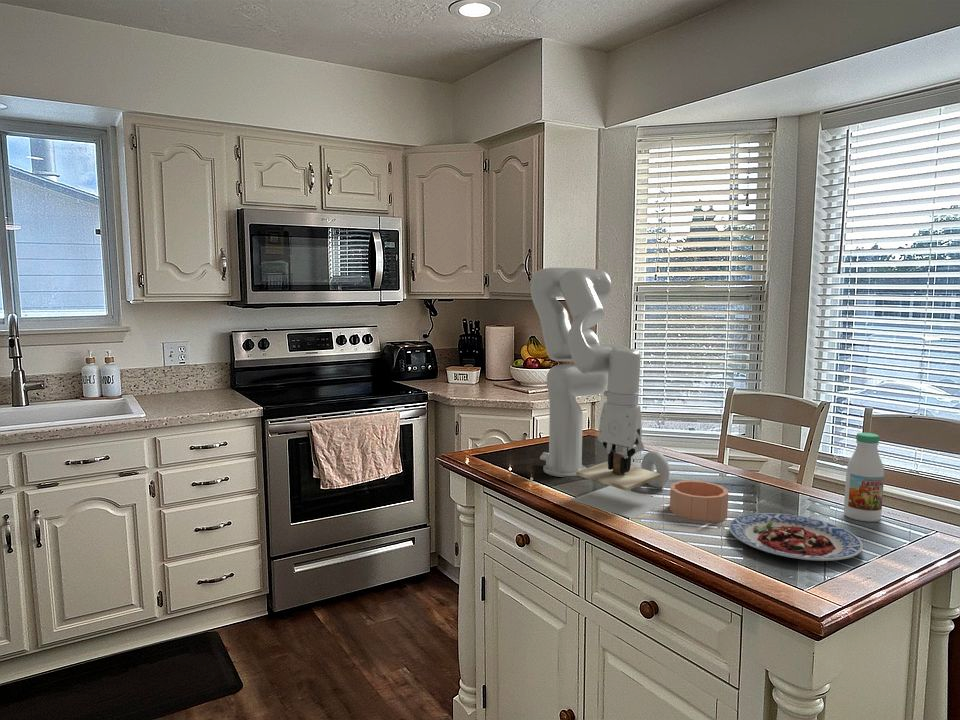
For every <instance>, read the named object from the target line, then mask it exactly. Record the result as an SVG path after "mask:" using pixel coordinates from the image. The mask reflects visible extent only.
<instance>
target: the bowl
mask: <svg viewBox="0 0 960 720" xmlns="http://www.w3.org/2000/svg"><path fill="white" fill-rule="evenodd" d="M669 501H670V502H669V511H670V512H671V513H673V514H675V515H676V516H678V517H682V518H684V519H689V520H696V521H705V522H707V523H708V524H710V523H711V524H712V523H720V522H723V521H724V520H726V519H728V505H729V491H728V489H727V488H726V487H723V486H722V485H720V484H717V483H712V482H709V481H703V480H702V481H700V480H691V479H690V480H679V481H675V482H672V483H670V493H669ZM708 521H709V522H708Z"/></svg>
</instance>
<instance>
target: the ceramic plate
mask: <svg viewBox="0 0 960 720" xmlns="http://www.w3.org/2000/svg"><path fill="white" fill-rule="evenodd" d="M728 529H729V532H730V533H731V534H732V535H733V537H735V538H736V539H737V540H739V542H742V543H743V544H745V545H747V546H749V547H751V548H755V549H757V550H760V551H763V552H765V553H769V554H773V555H776V556H779V557H780V556H781V557H786V558H792V559H799V560H805V561H818V562H820V561H822V562H823V561H824V562H825V561H826V562H828V561H840V560H841V561H842V560H846V559H852V558H853V557H856V556H858V555H859V554H860V553H862V552H863V549H864V544H863V542H862V540H861V539H860V538H859V537H858V536H856V535H855V534H853V533H852V532H851V531H849V530H847V529H846V528H842V527H841V526H839V525H836V524H833V523H830V522H827V521H824V520H820V519H817V518H812V517H808V516H807V517H806V516H803V515H795V514H788V513H778V512H777V513H775V512H774V513H773V512H761V513H750V514H745V515H741V516H738V517H736V518H734V519H732V520H731V521H730V523H729V524H728Z"/></svg>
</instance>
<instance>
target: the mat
mask: <svg viewBox="0 0 960 720" xmlns="http://www.w3.org/2000/svg"><path fill="white" fill-rule="evenodd" d="M571 501H573V502H575V503H580V504H582V505H586V506H590V507H593V508H597V509H599V510H602V511H605V512H609V513H612V514H616V515H620V516H622V517H626V518H630V519H633V518H636V517H638V516H640V515H644V514H646V513H647V512H650V511H652V510H655V509H656V508H657V509H658V508H659V507H662V506H664V505H666V504H668V503H669V504H670V500H664V499H661V498H658V497H654V496H650V495H647V494H643V493H640V492H636V491H632V490H628V491H625V490H622V489H619V488H616V487H613V486H610V485H607V486H604V487H603V488H599V489H597V490H594V491H591V492H589V493H585V494H583V495H580V496H576V497H574V498H572V499H571Z"/></svg>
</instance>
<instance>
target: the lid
mask: <svg viewBox="0 0 960 720" xmlns="http://www.w3.org/2000/svg"><path fill="white" fill-rule="evenodd" d="M622 457H623V451H622V452H621V451H616V452H614V454H613V469H611V470H609V469H608V460H607V461H603V462H601V463H599V464H596V465H593V466H590V467H586V469H583V470H580V471H577V472H576V475H577V476H578V477H582V478H585V479H588V480H591V481H595V482H597V483H600V484H604V485H605V486H606V485H607V486H613V487H616V488H619V489H622V490H625V491H628V490H629V491H631V490H632V489H635V488H638V487H640V486H642V485H645V484H647V482H650V481H652V480H655V479H657V478H660V477H661V474H659V473H657V471H656V472H655V471H654V472H652V471H649V470H645V469H641V467H638V466H635V465H634V466H633V465H631V467H630V471H629V472H626V473H621V472H620V467H621V458H622Z"/></svg>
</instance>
